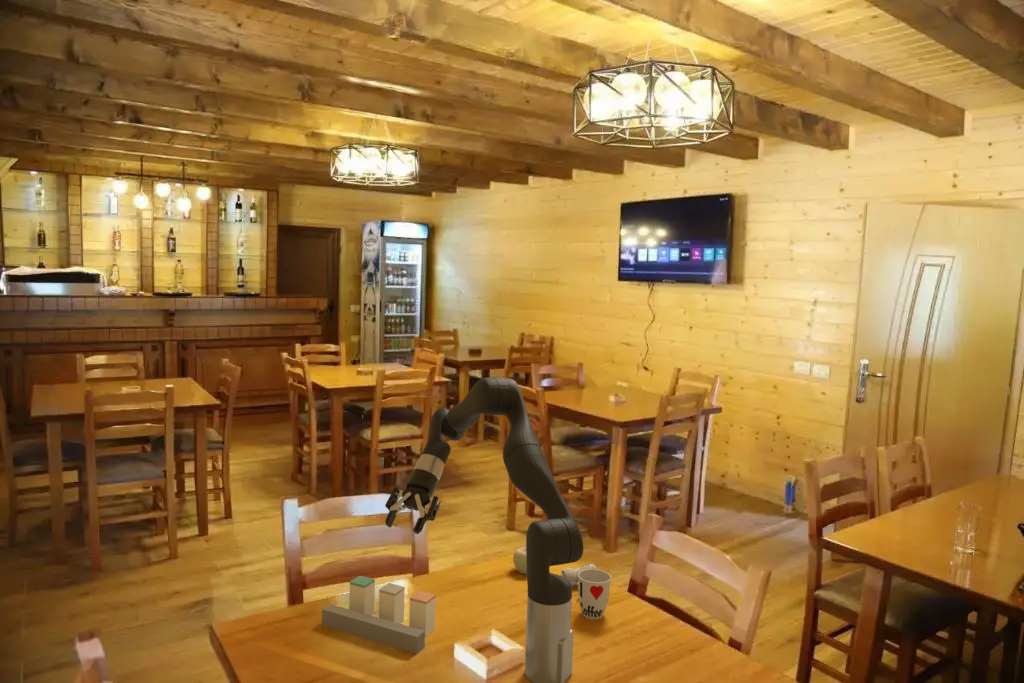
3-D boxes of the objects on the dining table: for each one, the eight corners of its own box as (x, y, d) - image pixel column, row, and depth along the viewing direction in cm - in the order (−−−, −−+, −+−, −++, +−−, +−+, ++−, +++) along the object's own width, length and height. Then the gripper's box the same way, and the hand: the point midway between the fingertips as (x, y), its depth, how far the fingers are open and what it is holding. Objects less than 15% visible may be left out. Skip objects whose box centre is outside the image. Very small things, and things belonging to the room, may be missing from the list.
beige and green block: (374, 611, 171) (374, 579, 170) (364, 619, 167) (364, 585, 166) (359, 607, 172) (360, 575, 172) (349, 614, 169) (349, 581, 168)
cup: (571, 617, 174) (573, 578, 173) (583, 604, 181) (585, 566, 180) (602, 625, 170) (604, 585, 169) (613, 612, 177) (615, 573, 176)
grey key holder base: (454, 626, 167) (454, 606, 167) (417, 659, 153) (417, 637, 152) (364, 602, 178) (364, 583, 178) (322, 630, 164) (322, 609, 163)
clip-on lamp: (547, 615, 181) (611, 595, 185) (543, 593, 179) (608, 573, 183) (533, 591, 192) (595, 572, 196) (530, 570, 190) (592, 552, 194)
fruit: (544, 572, 199) (545, 545, 199) (525, 579, 194) (526, 551, 194) (525, 564, 205) (526, 537, 204) (507, 570, 200) (508, 543, 199)
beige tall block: (403, 620, 167) (404, 586, 166) (394, 627, 163) (394, 593, 163) (388, 615, 169) (389, 582, 168) (378, 623, 165) (379, 589, 164)
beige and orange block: (434, 628, 163) (435, 594, 163) (425, 636, 160) (426, 601, 159) (418, 624, 165) (419, 590, 164) (409, 632, 162) (409, 597, 161)
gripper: (399, 463, 192) (373, 517, 184) (444, 472, 186) (419, 528, 178) (409, 477, 198) (384, 530, 189) (453, 486, 192) (430, 541, 183)
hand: (401, 529), depth 183 cm, fingers open, 8 cm apart
